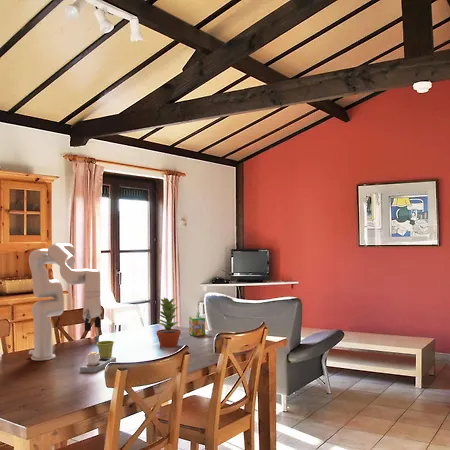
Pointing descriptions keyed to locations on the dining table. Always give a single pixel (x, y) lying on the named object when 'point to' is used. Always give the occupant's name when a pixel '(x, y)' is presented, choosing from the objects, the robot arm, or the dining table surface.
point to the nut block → (93, 359)
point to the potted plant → (168, 325)
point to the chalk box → (197, 325)
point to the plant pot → (105, 348)
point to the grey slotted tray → (102, 363)
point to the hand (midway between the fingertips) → (92, 328)
